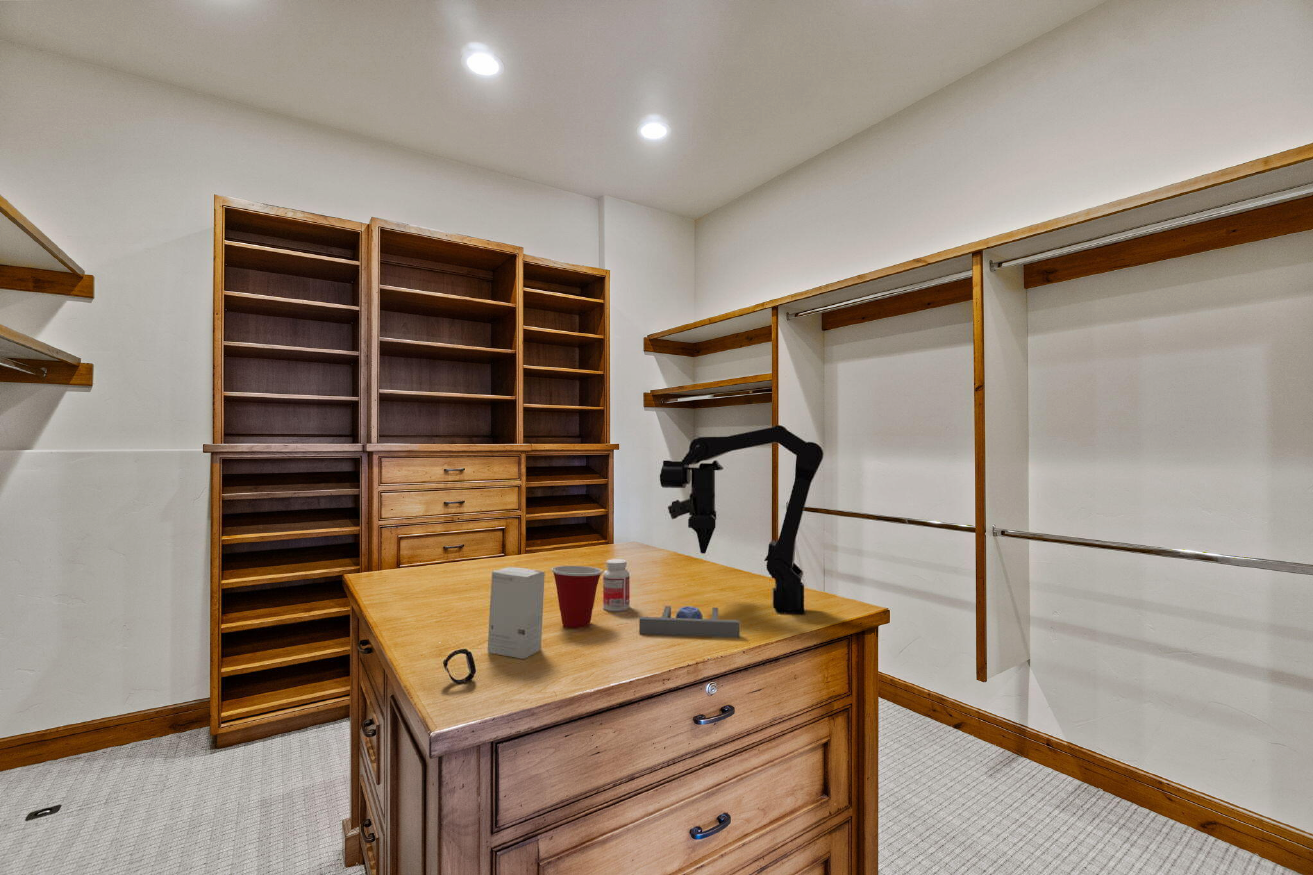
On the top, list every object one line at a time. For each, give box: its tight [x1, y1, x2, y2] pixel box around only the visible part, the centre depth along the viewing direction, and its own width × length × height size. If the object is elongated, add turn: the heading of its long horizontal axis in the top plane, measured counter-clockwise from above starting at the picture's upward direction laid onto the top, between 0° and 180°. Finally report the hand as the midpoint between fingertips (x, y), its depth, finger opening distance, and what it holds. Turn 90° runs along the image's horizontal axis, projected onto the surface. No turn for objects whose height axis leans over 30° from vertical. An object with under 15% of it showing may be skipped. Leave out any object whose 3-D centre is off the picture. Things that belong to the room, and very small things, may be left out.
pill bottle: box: [602, 558, 631, 612], centre depth 132 cm, size 6×6×11 cm
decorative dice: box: [675, 606, 703, 619], centre depth 118 cm, size 4×4×4 cm
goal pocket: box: [638, 605, 741, 639], centre depth 117 cm, size 20×10×3 cm, turn 83°
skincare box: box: [487, 566, 546, 660], centre depth 104 cm, size 8×6×15 cm
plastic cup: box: [551, 565, 604, 630], centre depth 120 cm, size 11×11×12 cm
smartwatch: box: [442, 648, 477, 685], centre depth 90 cm, size 4×5×5 cm
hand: (703, 553), depth 137 cm, fingers closed
